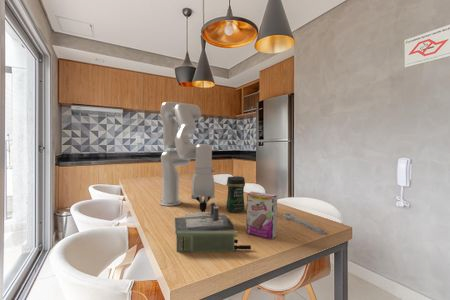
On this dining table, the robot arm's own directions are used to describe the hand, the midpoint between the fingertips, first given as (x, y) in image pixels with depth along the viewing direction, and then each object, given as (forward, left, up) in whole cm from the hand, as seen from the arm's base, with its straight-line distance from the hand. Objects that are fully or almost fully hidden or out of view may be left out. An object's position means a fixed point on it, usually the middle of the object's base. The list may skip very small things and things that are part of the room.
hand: (202, 210), depth 102 cm
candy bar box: (+20, +21, -5) cm, 29 cm away
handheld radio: (+28, 0, -6) cm, 29 cm away
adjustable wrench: (+12, +43, -6) cm, 45 cm away
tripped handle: (0, +5, -2) cm, 5 cm away
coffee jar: (-14, +20, -5) cm, 24 cm away
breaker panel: (+4, 0, -5) cm, 6 cm away
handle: (+8, +4, -2) cm, 10 cm away
